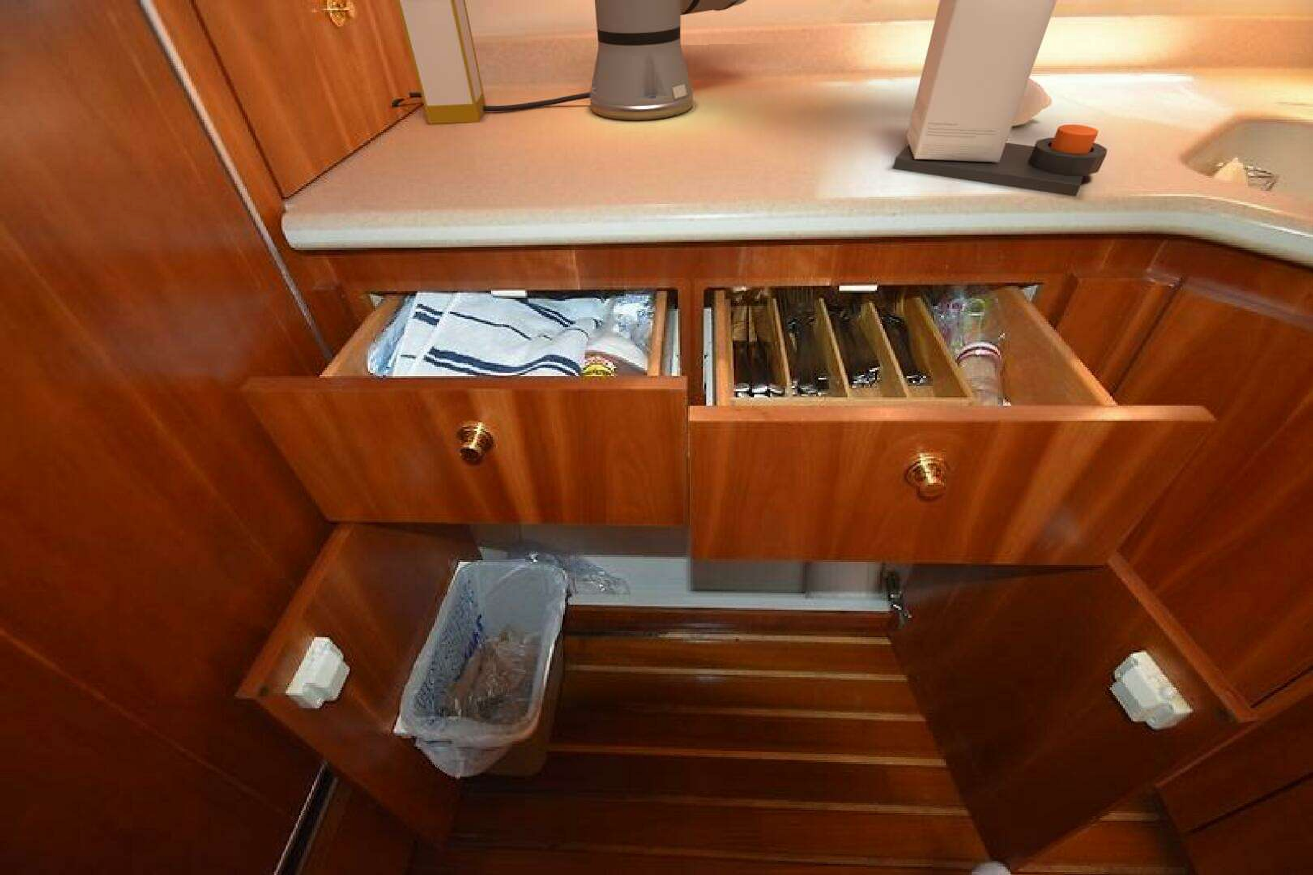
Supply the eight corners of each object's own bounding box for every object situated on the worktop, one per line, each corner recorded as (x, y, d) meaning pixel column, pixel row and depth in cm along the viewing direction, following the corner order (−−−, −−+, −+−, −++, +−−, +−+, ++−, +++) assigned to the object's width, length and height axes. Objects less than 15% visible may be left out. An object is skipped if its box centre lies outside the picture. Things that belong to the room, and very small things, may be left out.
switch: (1047, 153, 60) (1056, 131, 59) (1051, 143, 63) (1059, 122, 61) (1087, 158, 59) (1097, 136, 58) (1089, 148, 61) (1099, 126, 60)
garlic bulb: (1054, 127, 75) (1074, 78, 72) (1015, 132, 74) (1032, 83, 70) (1024, 116, 79) (1041, 69, 75) (986, 120, 78) (1001, 73, 74)
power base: (892, 169, 65) (899, 140, 63) (916, 142, 72) (923, 115, 70) (1089, 199, 58) (1104, 167, 56) (1095, 165, 65) (1109, 136, 63)
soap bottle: (420, 135, 80) (355, -99, 64) (439, 110, 89) (387, -99, 73) (473, 132, 80) (422, -101, 64) (486, 108, 90) (444, -101, 74)
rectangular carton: (1001, 164, 62) (1064, -12, 52) (912, 161, 64) (957, -12, 54) (985, 139, 69) (1038, -23, 59) (905, 136, 70) (943, -22, 60)
